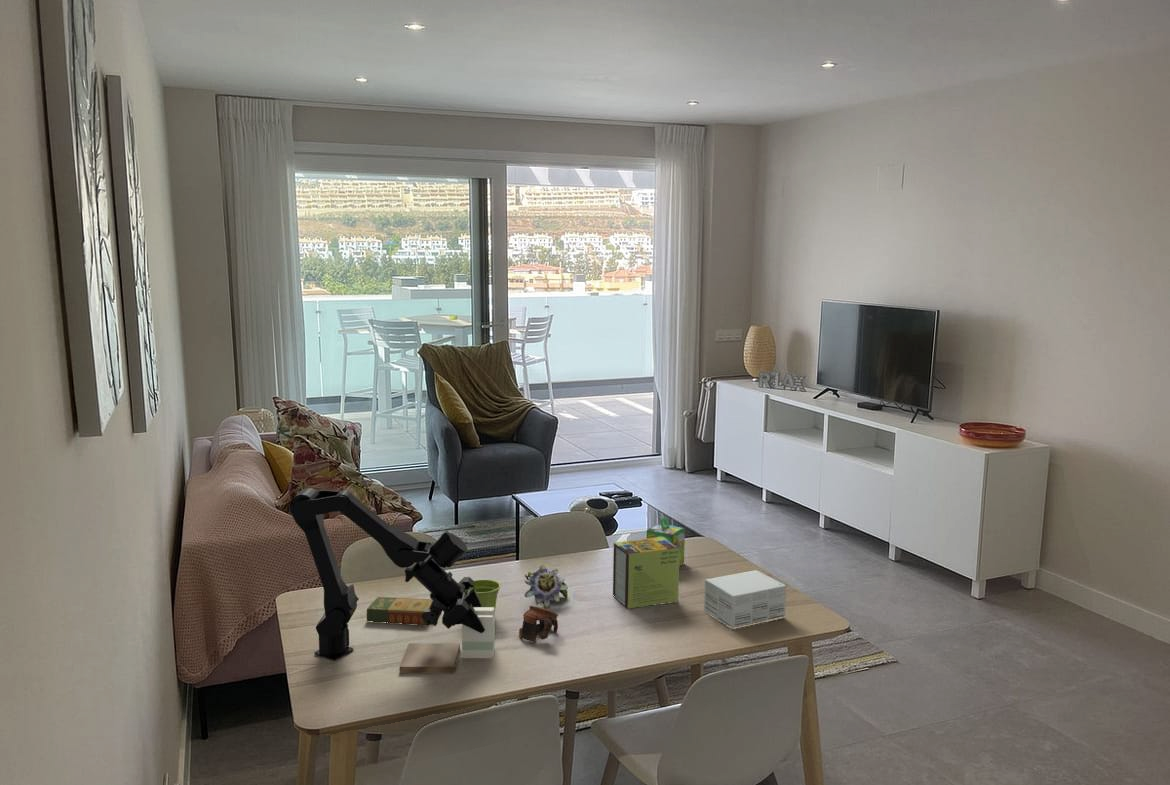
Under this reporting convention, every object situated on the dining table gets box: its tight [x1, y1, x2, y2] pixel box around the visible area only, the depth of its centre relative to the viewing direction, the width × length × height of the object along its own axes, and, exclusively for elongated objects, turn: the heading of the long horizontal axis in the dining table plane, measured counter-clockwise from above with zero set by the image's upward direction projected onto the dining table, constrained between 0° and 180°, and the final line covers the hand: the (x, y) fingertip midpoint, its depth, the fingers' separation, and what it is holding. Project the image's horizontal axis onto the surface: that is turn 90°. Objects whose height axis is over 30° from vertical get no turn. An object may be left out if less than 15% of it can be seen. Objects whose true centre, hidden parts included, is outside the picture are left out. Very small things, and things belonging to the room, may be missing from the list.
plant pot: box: [469, 579, 501, 614], centre depth 222 cm, size 9×9×9 cm
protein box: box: [612, 537, 680, 610], centre depth 236 cm, size 10×15×16 cm
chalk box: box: [646, 515, 686, 567], centre depth 263 cm, size 9×9×15 cm
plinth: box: [399, 642, 461, 674], centre depth 198 cm, size 12×12×2 cm
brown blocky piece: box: [518, 605, 559, 643], centre depth 212 cm, size 12×10×8 cm
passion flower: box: [524, 563, 568, 608], centre depth 234 cm, size 11×11×12 cm
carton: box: [366, 596, 433, 626], centre depth 222 cm, size 8×16×4 cm, turn 84°
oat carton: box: [461, 607, 496, 659], centre depth 202 cm, size 7×6×11 cm
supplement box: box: [703, 569, 787, 628], centre depth 226 cm, size 17×13×9 cm
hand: (484, 625), depth 202 cm, fingers open, 6 cm apart
